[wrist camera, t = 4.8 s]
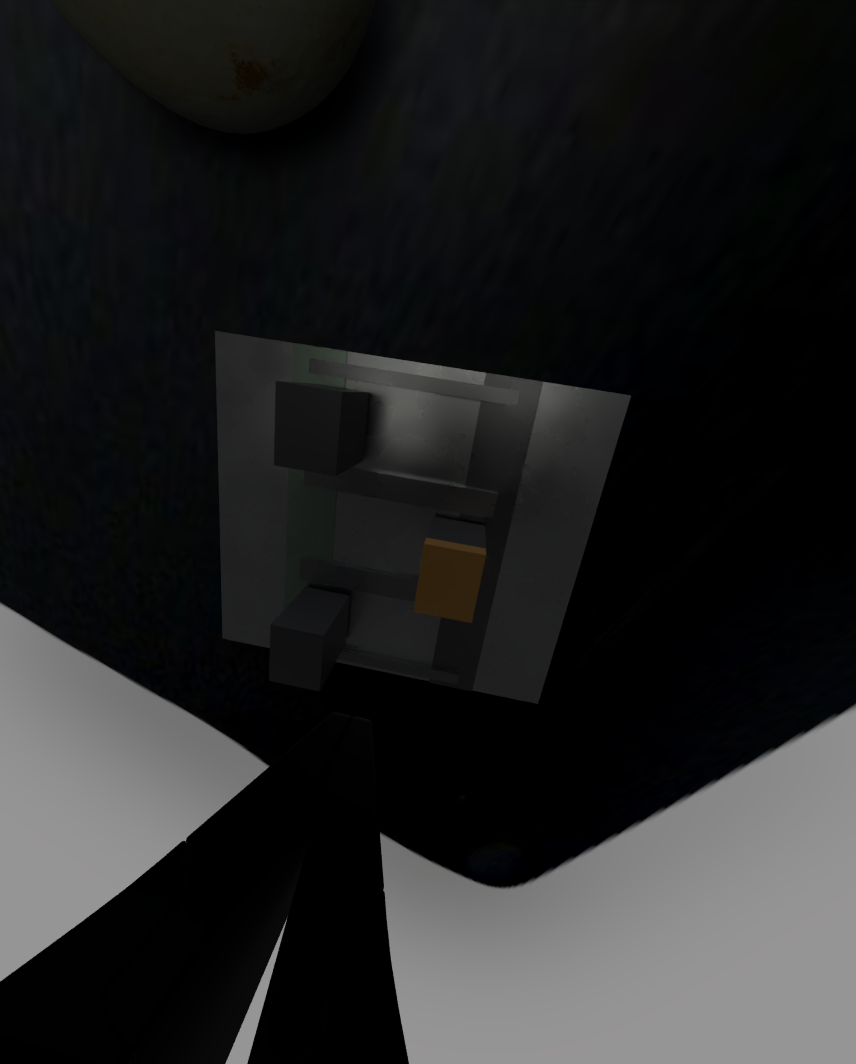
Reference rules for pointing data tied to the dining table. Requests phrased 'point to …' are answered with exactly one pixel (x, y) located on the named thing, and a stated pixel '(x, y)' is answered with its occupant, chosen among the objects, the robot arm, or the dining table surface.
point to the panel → (412, 508)
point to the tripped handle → (451, 569)
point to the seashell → (226, 53)
